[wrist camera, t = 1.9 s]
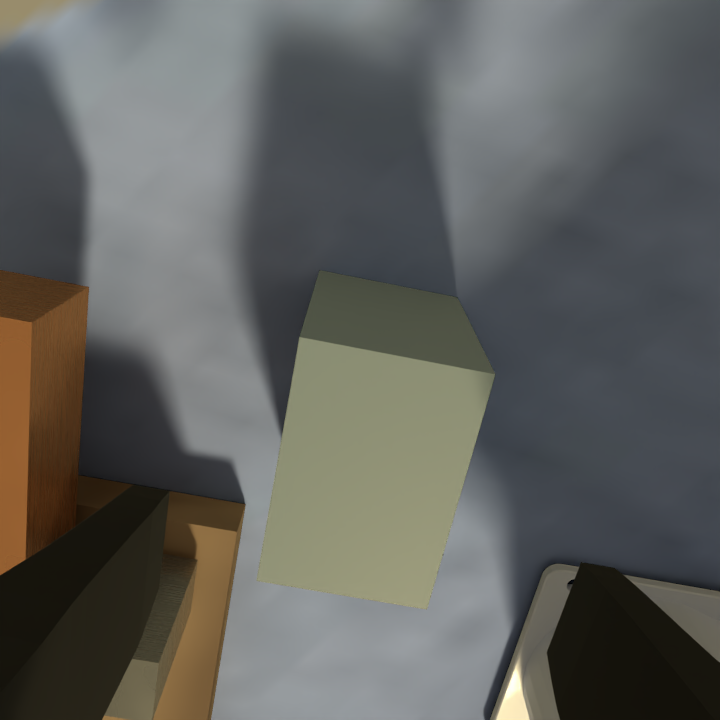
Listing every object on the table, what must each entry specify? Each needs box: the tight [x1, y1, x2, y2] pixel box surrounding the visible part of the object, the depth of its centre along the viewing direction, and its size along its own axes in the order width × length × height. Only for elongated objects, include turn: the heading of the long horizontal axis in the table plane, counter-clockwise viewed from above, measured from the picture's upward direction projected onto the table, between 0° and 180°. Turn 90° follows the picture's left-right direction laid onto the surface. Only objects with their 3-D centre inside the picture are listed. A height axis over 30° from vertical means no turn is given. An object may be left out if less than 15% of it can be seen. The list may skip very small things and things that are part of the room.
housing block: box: [257, 270, 495, 609], centre depth 17 cm, size 4×6×6 cm, turn 169°
